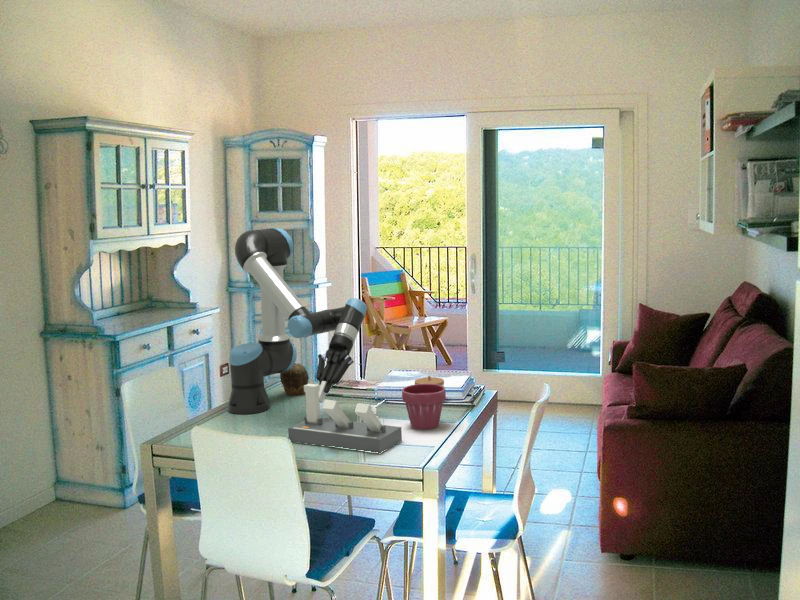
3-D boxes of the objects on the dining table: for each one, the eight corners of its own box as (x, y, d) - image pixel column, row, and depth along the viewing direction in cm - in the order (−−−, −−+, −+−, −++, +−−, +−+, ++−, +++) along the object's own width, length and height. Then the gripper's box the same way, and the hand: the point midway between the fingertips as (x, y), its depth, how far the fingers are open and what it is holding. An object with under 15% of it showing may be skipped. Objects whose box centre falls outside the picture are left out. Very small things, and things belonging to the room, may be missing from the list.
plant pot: (396, 430, 281) (395, 392, 280) (413, 418, 294) (411, 382, 292) (437, 434, 276) (436, 395, 274) (452, 422, 288) (451, 384, 287)
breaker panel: (313, 429, 285) (312, 410, 284) (401, 441, 270) (401, 420, 269) (288, 441, 273) (287, 421, 272) (380, 454, 257) (379, 432, 256)
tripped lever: (311, 421, 278) (309, 383, 276) (321, 422, 276) (319, 384, 275) (305, 423, 276) (303, 385, 274) (316, 424, 274) (314, 386, 272)
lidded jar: (441, 396, 323) (440, 371, 322) (447, 403, 312) (446, 378, 311) (412, 398, 321) (412, 374, 320) (418, 405, 311) (417, 380, 309)
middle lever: (341, 420, 273) (325, 399, 264) (352, 421, 271) (336, 400, 262) (338, 428, 271) (321, 408, 262) (349, 430, 269) (333, 409, 261)
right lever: (373, 424, 267) (357, 403, 259) (384, 425, 266) (369, 404, 257) (370, 432, 266) (354, 411, 257) (381, 434, 264) (366, 412, 255)
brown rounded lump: (275, 394, 335) (273, 364, 333) (296, 389, 343) (295, 359, 341) (293, 398, 327) (291, 367, 326) (315, 392, 335) (313, 362, 334)
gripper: (364, 347, 289) (340, 408, 277) (331, 345, 295) (306, 404, 283) (355, 334, 284) (331, 396, 272) (322, 332, 290) (296, 392, 278)
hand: (318, 400), depth 277 cm, fingers closed
